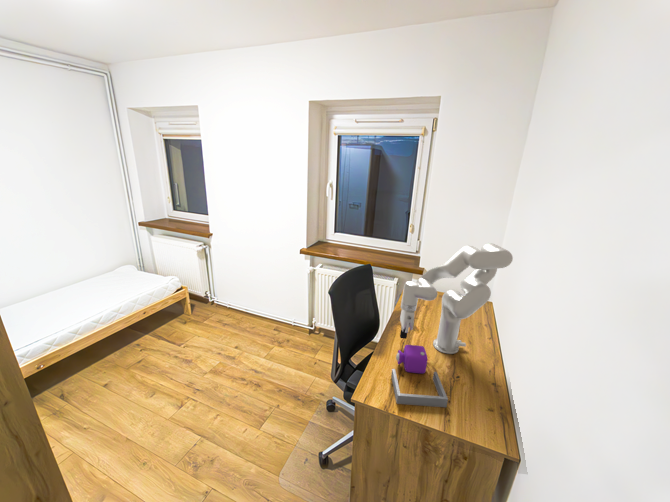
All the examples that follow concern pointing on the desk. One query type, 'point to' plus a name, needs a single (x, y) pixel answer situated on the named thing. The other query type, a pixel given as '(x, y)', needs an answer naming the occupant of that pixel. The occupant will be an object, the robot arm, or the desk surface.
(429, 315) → the desk surface
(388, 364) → the desk surface
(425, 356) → the toy camera
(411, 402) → the cradle
